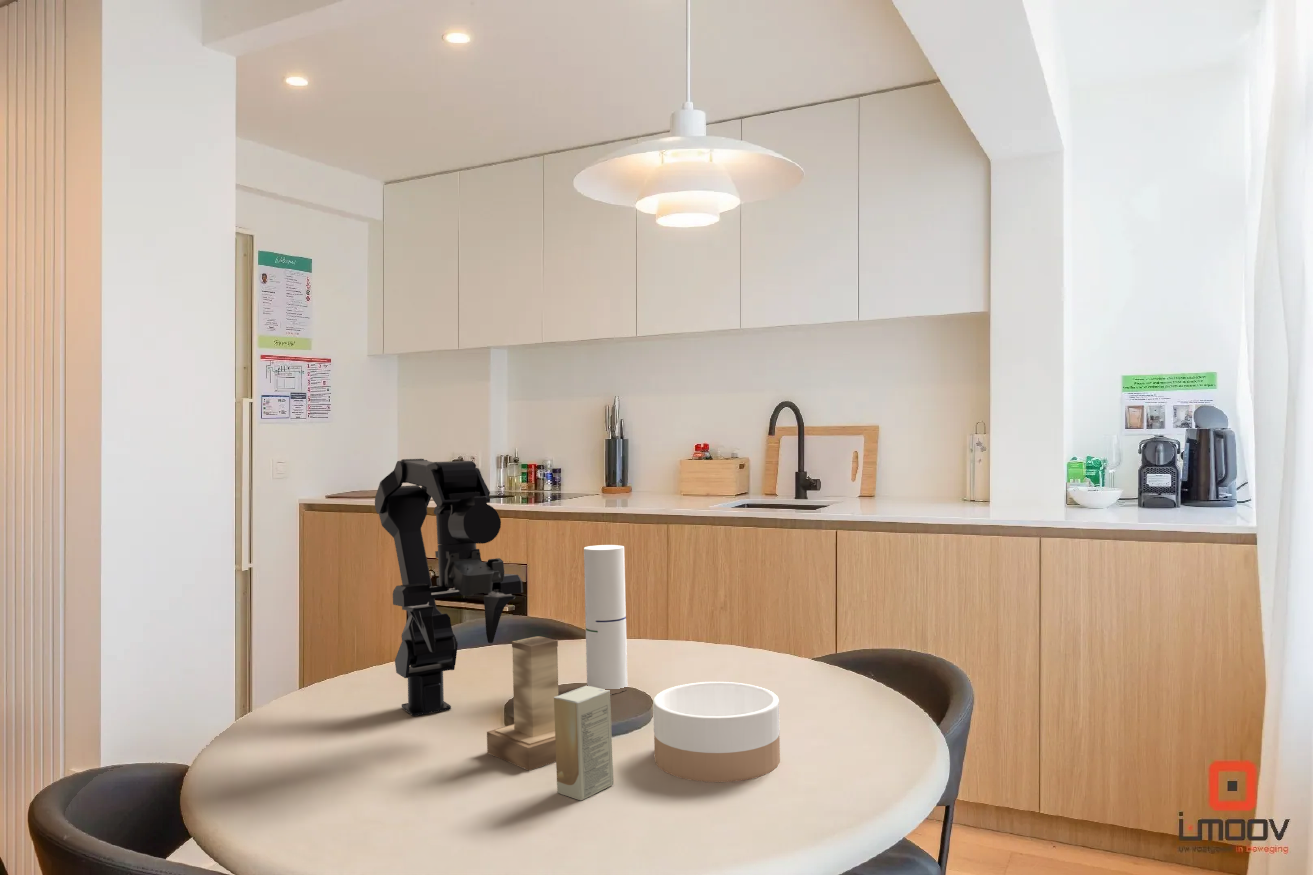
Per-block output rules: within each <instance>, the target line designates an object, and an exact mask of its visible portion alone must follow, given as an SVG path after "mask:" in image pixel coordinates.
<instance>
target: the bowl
mask: <svg viewBox="0 0 1313 875" xmlns="http://www.w3.org/2000/svg"><path fill="white" fill-rule="evenodd" d="M652 705H653V707H652V708H653V709H652V710H653V714H652V715H653V739H654V740H653V741H654V743H653V744H654V761H655V765H656V766H657V767H658V768H659V769H660V770H662V771H663V772H664V773H667V774H669V775H671V776H674V777H677V778H680V779H683V780H689V781H694V782H705V783H727V782H728V783H730V782H732V783H733V782H738V781H739V782H740V781H746V780H751V779H755V778H758V777H762V776H765V775H767V774H770V773H771V772H772V771H774V770H775V769H777V767H778V766H779V764H780V762H781V748H780V746H781V744H780V743H781V742H780V739H781V738H780V737H781V736H780V735H781V730H780V699H779V696H778V695H777V694H775V693H774V692H773V691H771V690H769V689H767V688H764V687H761V686H757V685H754V684H749V683H741V682H731V681H701V682H700V681H699V682H693V683H686V684H679V685H675V686H672V687H669V688H665V689H664V690H661V691H660V692H658V693H657V694H656V695H655V696H654V699H653V700H652Z"/></svg>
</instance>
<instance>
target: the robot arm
mask: <svg viewBox="0 0 1313 875" xmlns="http://www.w3.org/2000/svg"><path fill="white" fill-rule="evenodd" d="M403 484H411V485H403ZM490 494H491V491H490V489H489V487H488V484H486V481H485V479H484V478H483V476H482V473H481V471H480V469H479V468H478V467H477V464H476V462H474V461H473V460H457V461H456V460H455V461H451V460H450V461H449V460H448V461H430V460H427V459H424V458H404V459H401V460H398V461H397V462H396V464H395V466H394V469H393V470H392V471H391V472H390V473H389V474H387V475H386V476H385V477H384V478H383V479H381V480H380V482H379V484H378V487H377V491H376V494H375V496H374V508H375V512H376V513H377V514H378V516H379V520H380V524H381V527H382V528H383V529H384V530H385V531H386V532H387V533H388V534H389V535H390V536H392V538H393V541H394V545H395V552H396V556H397V557H396V558H397V562H398V568H399V574H400V579H401V583H402V584H400V585H396V586H395V587H394V589H393V592H392V605H393V606H398V607H401V609H402V611H406V612H407V620H406V623H405V624H404V625H405V626H404V628H403V630H402V632H401V642H400V644H399V645H400V646H399V647H398V651H397V653H396V656H395V658H394V666H395V672H396V673H395V674H398V675H399V676H401V677H403V678H404V679H407V700H408V701H407V702H408V703H407V702H405V703H402V704H401V709H403V711H406V712H407V713H408V714H409V715H411V716H413V717H416V716H422V715H426V714H433V713H438V712H444V711H448V710H451V709H452V706H451V704H449V703H447V702H446V701H445V699H444V698H445V697H444V672H448V671H454V670H455V668H456V667H455V666H456V662H457V655H458V654H457V653H458V647H459V646H458V645H459V643H458V641H457V637H456V634H454V632H453V628H452V621H451V617H450V615H449V614H448V613H447V612H445V613H442V612H441V611H440V610H439V609H438V607H437V605H436V604H437V603H436V599H441V598H450V597H457V596H459V597H460V596H465V597H467V596H468V597H469V596H474V594H475V595H477V594H483V593H484V594H485V595H484V596H483V605H484V607H483V608H484V618H485V619H484V620H485V634H486V635H485V636H486V639H487V643H488V644H493V643H494V641H495V637H496V633H497V630H498V626H499V623H500V619H501V618H502V617H501V616H502V613H503V612H504V610H505V608H506V606H507V605H508V603H509V602H510V601H511V600H515V598H516V594H523V593H524V585H523V579H522V578H521V577H520V576H519V575H518V574H514V573H513V574H512V573H511V574H510V573H505V565H504V564H505V563H504V560H502V559H501V558H500V557H497V558H489V559H487V561H483V560H482V558H481V551H480V550H481V549H480V548H477V544H487V543H491V541H494V540H495V538H496V537H497V536H498V535H499V533H500V530H501V527H502V526H501V525H502V524H501V523H502V520H501V518H500V515H499V513H498V510H496V509H495V508H494V507H493V506H491V505H490V504H488V503H491V497H490ZM431 498H432V500H433V502H434V504H435V505H436V506H435V508H434V510H433V515H435V516H436V517H435V518H436V519H435V520H436V536H437V537H436V538H437V539H436V540H437V541H436V542H437V551H434V553H435V555H434V556H435V559H437V560H438V577H437V578H436V585H437V586H436V585H435V586H433V584H432V578H431V573H430V568H429V562H428V559H427V553H426V548H425V542H424V538H423V533H422V527H423V524H424V522H425V520H426V517H427V515H428V507H429V504H430V502H431ZM451 587H453V588H451ZM513 594H514V595H513Z"/></svg>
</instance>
